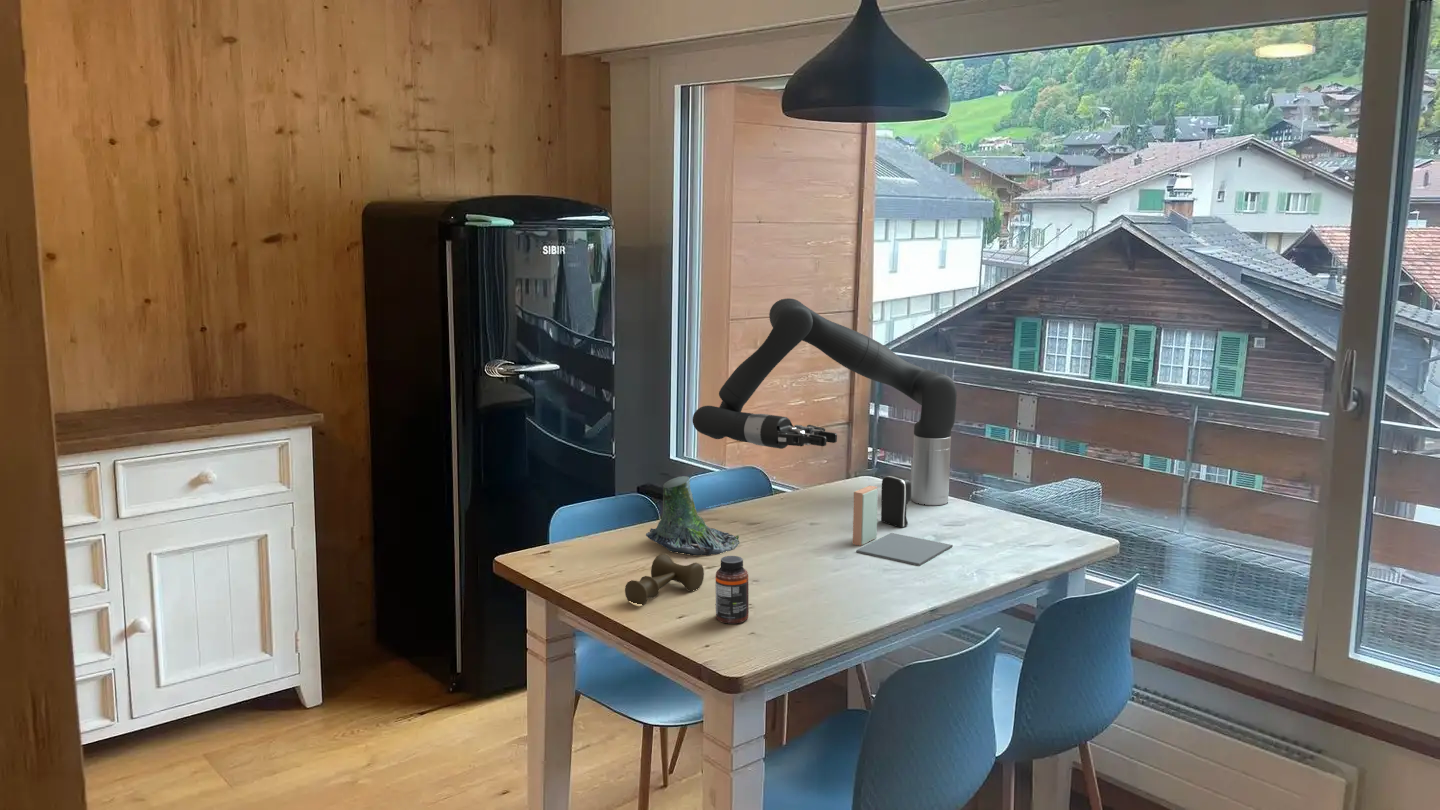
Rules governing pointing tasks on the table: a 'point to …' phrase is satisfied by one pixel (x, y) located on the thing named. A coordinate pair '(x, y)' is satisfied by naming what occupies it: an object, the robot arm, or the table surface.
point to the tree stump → (687, 524)
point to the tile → (865, 515)
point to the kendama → (664, 579)
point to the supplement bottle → (732, 591)
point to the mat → (904, 549)
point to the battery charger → (895, 500)
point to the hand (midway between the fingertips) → (830, 439)
